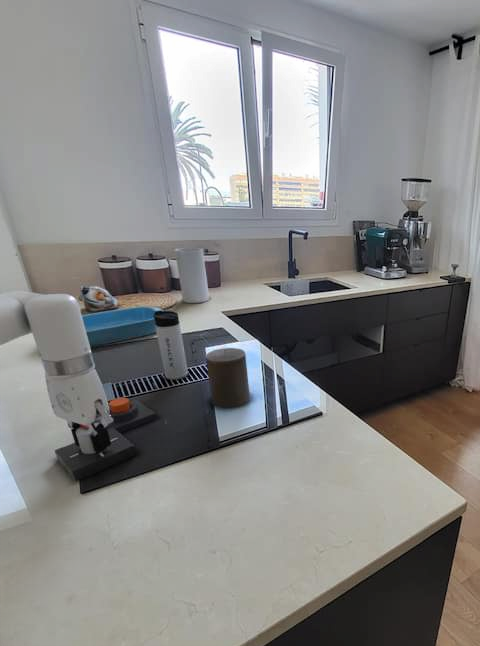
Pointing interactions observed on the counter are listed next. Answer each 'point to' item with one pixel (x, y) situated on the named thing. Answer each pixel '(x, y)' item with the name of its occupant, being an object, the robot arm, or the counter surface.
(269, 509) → the counter surface
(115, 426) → the block
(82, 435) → the timer dial
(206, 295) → the cylinder vase
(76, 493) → the counter surface
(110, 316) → the casserole dish
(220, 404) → the pillar candle
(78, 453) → the panel
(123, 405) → the button
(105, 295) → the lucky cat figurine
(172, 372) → the travel mug
